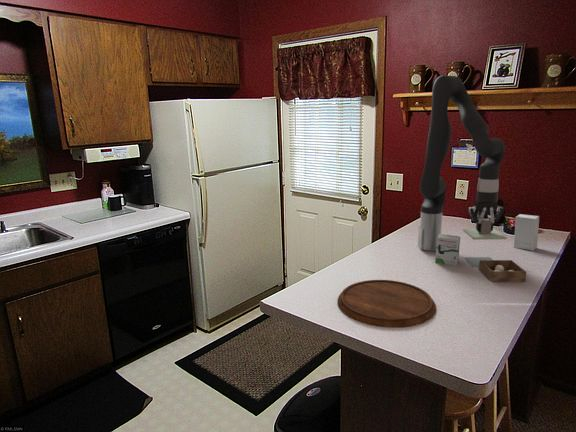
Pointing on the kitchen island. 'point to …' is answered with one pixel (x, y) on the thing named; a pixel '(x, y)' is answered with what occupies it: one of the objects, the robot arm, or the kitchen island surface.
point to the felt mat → (475, 260)
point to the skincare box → (526, 232)
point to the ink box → (447, 249)
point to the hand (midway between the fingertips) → (484, 231)
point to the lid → (484, 232)
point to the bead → (499, 268)
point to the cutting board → (386, 303)
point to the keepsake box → (502, 276)
